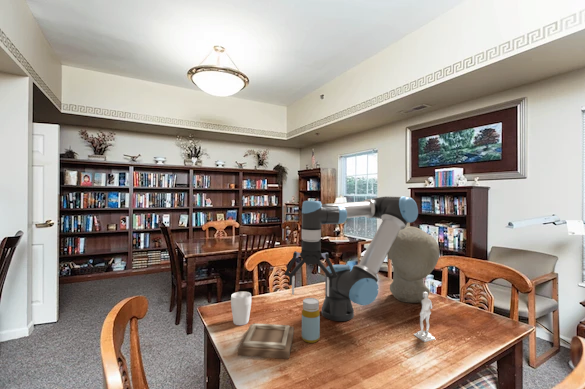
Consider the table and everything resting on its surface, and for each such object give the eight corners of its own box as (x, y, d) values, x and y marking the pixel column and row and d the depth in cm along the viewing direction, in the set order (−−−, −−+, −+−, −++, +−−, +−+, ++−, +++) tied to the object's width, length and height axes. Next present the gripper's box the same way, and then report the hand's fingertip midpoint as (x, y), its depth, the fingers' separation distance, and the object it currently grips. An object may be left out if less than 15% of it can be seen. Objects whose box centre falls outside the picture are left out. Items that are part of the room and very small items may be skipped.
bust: (441, 299, 151) (442, 226, 151) (436, 319, 127) (437, 231, 127) (393, 290, 164) (394, 223, 164) (380, 307, 140) (381, 228, 140)
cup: (247, 327, 117) (247, 299, 117) (227, 325, 119) (227, 297, 119) (254, 318, 126) (254, 292, 126) (235, 316, 128) (235, 290, 128)
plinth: (293, 332, 113) (293, 323, 113) (288, 358, 95) (289, 348, 95) (250, 330, 115) (250, 321, 115) (237, 355, 97) (237, 344, 97)
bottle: (300, 334, 112) (301, 297, 112) (317, 334, 112) (318, 297, 112) (302, 344, 105) (303, 304, 105) (321, 343, 106) (321, 303, 106)
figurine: (429, 331, 115) (429, 288, 116) (441, 339, 109) (441, 293, 109) (411, 333, 114) (411, 289, 114) (422, 342, 107) (422, 295, 107)
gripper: (342, 239, 111) (341, 292, 111) (280, 237, 114) (280, 289, 114) (344, 242, 104) (343, 299, 104) (278, 240, 106) (277, 296, 106)
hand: (310, 294), depth 109 cm, fingers open, 13 cm apart
